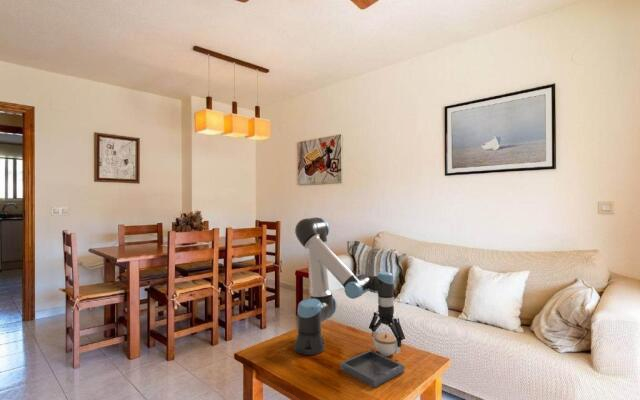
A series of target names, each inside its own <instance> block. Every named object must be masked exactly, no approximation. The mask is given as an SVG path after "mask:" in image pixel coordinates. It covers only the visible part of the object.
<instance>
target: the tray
mask: <svg viewBox="0 0 640 400" xmlns="http://www.w3.org/2000/svg"><path fill="white" fill-rule="evenodd" d="M339 367H340V370H341V371H342V372H345V373H346V374H348V375H349V376H350V377H351V376H352V377H354V379H357V380H359V381H361V382H363V383H365V384H366V385H368V386H369V387H372V388H373V389H375V388H377V387H379V386H380V385H382V384H384V383H386V382H388V381H390V380H392V379H394V378H395V377H398V376H399V375H401V374H403V373H404V372H405V365H404V364H402V363H400V362H398V361H395V360H393V359H391V358H388V356H383V355H381V354H380V353H379V352H375V351H374V350H372V349H369V350H367V351H365V352H361V353H359V354H357V355H355V356H353V357H351V358H348V359H346V360H344V361H341V362H340V364H339Z"/></svg>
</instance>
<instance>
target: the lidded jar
mask: <svg viewBox="0 0 640 400" xmlns="http://www.w3.org/2000/svg"><path fill="white" fill-rule="evenodd" d="M395 340H396V337H395V336H394V334H392V333H385V332H383V333H381V332H380V333H378V334H377V335H375V345H374V346H375V349H376V351H377V353H378V354H380V355H382V356H384V357H390V355H391V356H393V354H394V353H395Z"/></svg>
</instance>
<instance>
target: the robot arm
mask: <svg viewBox="0 0 640 400" xmlns="http://www.w3.org/2000/svg"><path fill="white" fill-rule="evenodd" d="M294 233H295V237H296V238H297V240H298V242H299V243H300V244H301V246H303V248H304V249H307V250H308V253H309V263H310V274H311V286H312V292H311V293H310V298H307V299H306V298H305V299H302V300H301V301H299V303H298V305H297V335H296V338H295V341H294V345H293V346H294V348H293V349H294V351H295V352H297V353H298V354H300V355H304V356H305V355H306V356H313V355H318V354H322V353H323V351H324V350H325V349H326V348H325V345H326V344H325V342H324V338H323V335H322V322H324V321H326V320H327V319H330V318H332V317H333V315H334V314H335V313H336V311H337V307H338V304H337V300H336V298H335V297H334V296H333V292H332V291H331V290H330V286H329V277H328V271H329V272H330V273H331V275H332V276H333V277H334V278H335V279H336V280H337V282H339V283H340V284H341V286H343V287H344V293H345V296H347V298H349V299H357V298H360V297H362V295H363V294H366V293H367V292H374V293H375V292H377V304H378V306H377V311H374V312H373V316H372V317H371V321H370V323H369V326H368V328H369V330H371V333H372V335H371V337H372V339H373V340H372V344H373V346H375V335H377V334H379V330H378V329H379V327H380V326H381V324H382V325H386V326H387V327H388V328H389V329H390V330H391V332H392V333H393V334H392V335H394V336H395V337H396V340H395V352H394V353H395V354H396V355H398V354H401V348H402V341H403V340H406V337H405V334H404V332H403V329H402V326H401V323H400V318H399V317H394V314H395V310H394V309H395V306H394V303H395V300H394V299H395V298H394V295H395V294H394V293H395V292H394V289H395V287H394V286H395V285H394V284H395V282H394V281H395V280H394V275H393V273H391V272H389V271H380V272H378V273H377V275H370V274H363V273H362V274H359V273H358V274H354V273H353V272H352V271H351V270H350V269H349V268H348V266H347V265H345V264H344V262H343V261H342V260H341V259H340V258H339V257H338V256H337V255H336V254H335V252H333V251H332V250H331V249H330V248H329V246H328V245H327V243H328V238H327V237H328V235H329V233H330V226H329V223H328V222H327V220H326V219H323V218H322V217H310V218H303V219H301V220H299V221H298V222H297V223H296V226H295V229H294Z"/></svg>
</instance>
